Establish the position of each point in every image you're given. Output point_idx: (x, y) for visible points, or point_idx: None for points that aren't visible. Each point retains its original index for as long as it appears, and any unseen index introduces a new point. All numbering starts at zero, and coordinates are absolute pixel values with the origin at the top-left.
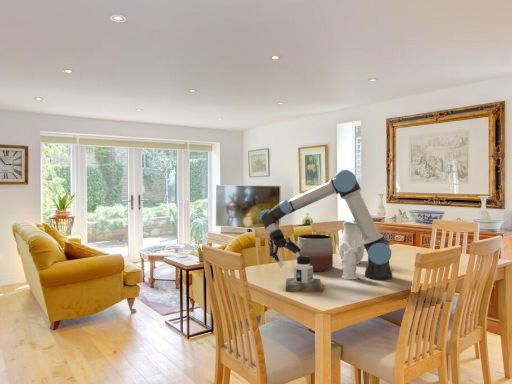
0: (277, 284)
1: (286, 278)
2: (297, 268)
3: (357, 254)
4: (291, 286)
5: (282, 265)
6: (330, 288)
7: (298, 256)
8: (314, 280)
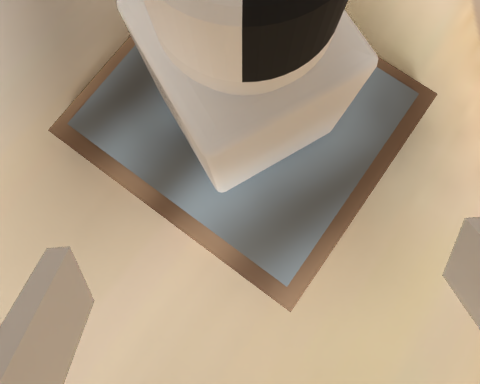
0: (378, 304)
1: (294, 305)
2: (349, 21)
3: None
4: (396, 69)
5: (467, 237)
6: (102, 12)
7: (23, 379)
8: (144, 87)
